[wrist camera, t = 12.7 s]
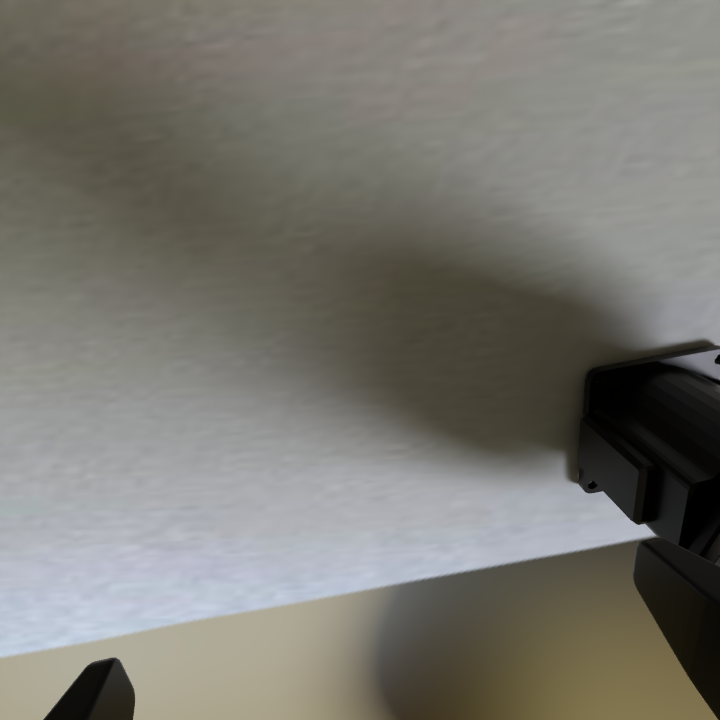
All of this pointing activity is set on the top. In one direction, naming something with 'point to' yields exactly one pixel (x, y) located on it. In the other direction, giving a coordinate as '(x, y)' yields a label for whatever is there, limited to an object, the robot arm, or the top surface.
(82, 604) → the top surface
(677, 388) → the robot arm
